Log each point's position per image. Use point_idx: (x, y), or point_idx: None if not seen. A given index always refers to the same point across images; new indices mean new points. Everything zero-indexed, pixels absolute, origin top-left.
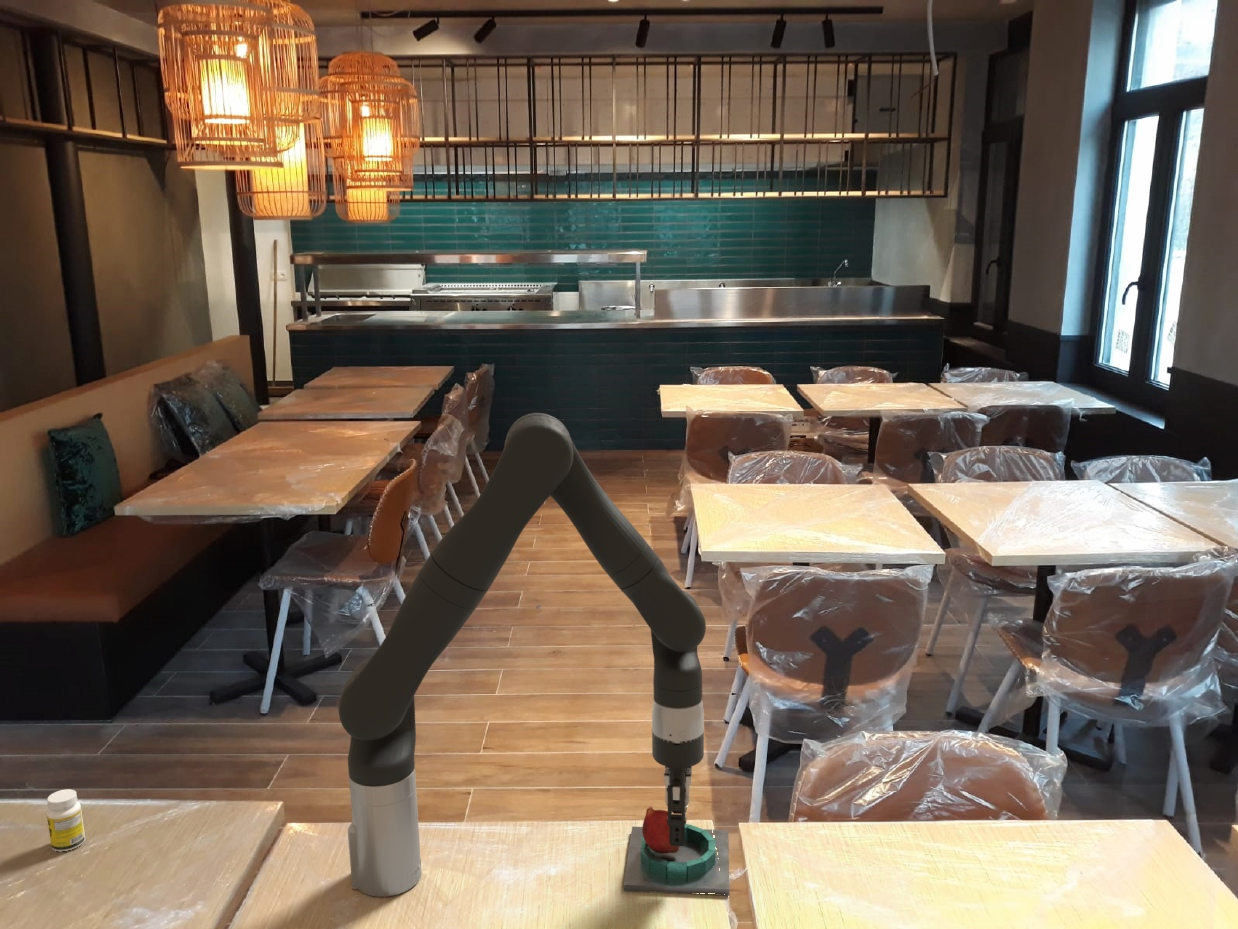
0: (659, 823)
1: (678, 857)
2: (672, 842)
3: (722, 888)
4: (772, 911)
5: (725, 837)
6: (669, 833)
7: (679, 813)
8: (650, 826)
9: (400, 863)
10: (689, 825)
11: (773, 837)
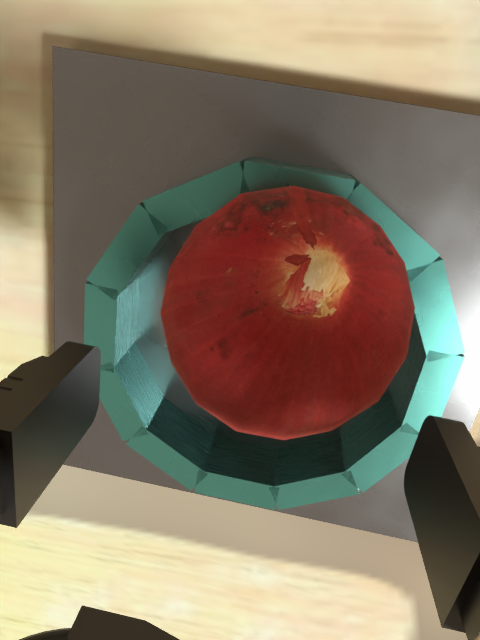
0: (193, 326)
1: None
2: (29, 365)
3: None
4: (8, 530)
5: (373, 523)
6: (28, 375)
7: (414, 448)
8: (205, 252)
9: None
10: None
11: (374, 631)
